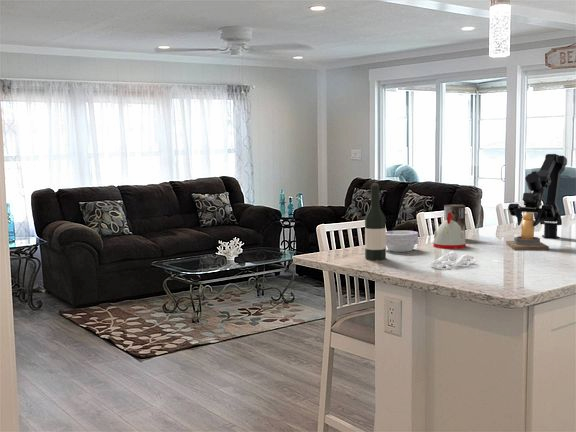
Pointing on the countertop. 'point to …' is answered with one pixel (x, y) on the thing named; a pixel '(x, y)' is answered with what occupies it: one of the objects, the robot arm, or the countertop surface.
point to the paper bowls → (401, 240)
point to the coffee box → (456, 214)
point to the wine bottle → (375, 229)
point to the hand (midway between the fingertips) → (526, 225)
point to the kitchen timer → (449, 235)
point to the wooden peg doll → (527, 226)
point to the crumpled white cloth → (452, 261)
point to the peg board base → (527, 244)
